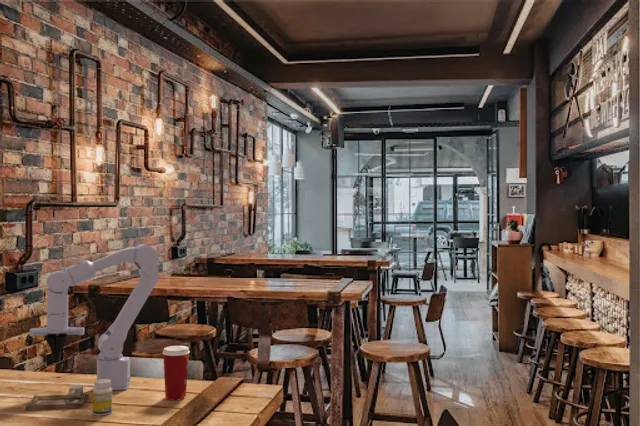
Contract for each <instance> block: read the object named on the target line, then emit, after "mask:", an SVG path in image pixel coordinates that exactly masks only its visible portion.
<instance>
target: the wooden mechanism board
mask: <svg viewBox="0 0 640 426" xmlns="http://www.w3.org/2000/svg"><path fill="white" fill-rule="evenodd" d="M89 398H90V397H89V393H86V392H83V393H81V398H69V392H63V393H39V394H38V393H37V394H36V393H35V394H34V395H33V398H32V399H31V400H30V401H29V402H27V404H26V405H25V411H43V410H64V409H67V410H68V409H83V407H84V406H85V404H86V403H87V401H88V399H89Z"/></svg>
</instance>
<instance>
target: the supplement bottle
mask: <svg viewBox="0 0 640 426" xmlns="http://www.w3.org/2000/svg"><path fill="white" fill-rule="evenodd" d="M110 386H111V380H109V379H99V380H97V379H96V380H95V381H94V387H95V389H94V388H93V389H94V390H93V389H92V392H93V393H92V414H93V415H94V416H100V417H101V416H102V417H103V416H108V415H110V414H112V412H113V390H112V388H111V387H110Z"/></svg>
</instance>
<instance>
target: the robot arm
mask: <svg viewBox="0 0 640 426" xmlns="http://www.w3.org/2000/svg"><path fill="white" fill-rule="evenodd" d="M159 257H160V256H159V255H158V254H157V251H156V249H155V248H154V247H153V246H151V245H147V244H144V243H139V244H135V246H129V247H125V248H122V249H120V250H117V251H115V252H113V253H110V254H108V255H106V256H103V257H101V258H99V259H96V260H94V261H90V260H88V259H86V260H85V259H84V260H82V259H80V260H77V261H76V262H77V263H75V264H72V265H70V266H67V267H65V266H63V267H61V268H60V269H61V271H59V270H57V271H56V270H55V271H53V272H50V273H49V275H47V279H46V286H47V287H48V289H47V292H46V293H47V297H46V327H34V328H33V327H32V328H30V329H29V337H35V336H41V337H42V336H46V338H45V340H46V342H47V344H48V346H49V348H50V351H51V354H52V358H53V359H52V360H53V362H59V361H61V356H62V353H63V349H64V347H65V345H66V342H67V340H68V338H69V336H76V335H79V336H83V335H85V327H84V326H83V327H81V326H80V327H79V326H69V296H68V292H69V291H68V289H69V287H75V286H77V285H80V284H81V283H84V282H86V281H89V280H91V279H94V278H95V276H96V274H97V273H98V272H101V271H103V270H105V269H109V268H111V267H113V266H117V265H119V264H122V263H127V264H135V266H136V267H137V269H138V273H139V276H140V278H139V280H138V281H137V283H136V285H135V286H134V288H133V290H132V291H131V293H130V294H129V297H128V298H127V300H126V301H125V303H124V305H123V306H122V308H121V310H120V311H119V313H118V315H117V317H116V318H115V320H114V322H113V323H112V324H111V325H110V326H109V327H108V328H107V330H106V331H105V332H104V333H102V334H101V335H100V336H99V337H98V339H97V342H96V344H97V348H98V349H99V351H100V352H99V354H98V355H97V356H96V380H99V379H109V380H111V386H110V387H111V388H112V391H116V390H117V391H124V390H128V388H129V386H130V384H131V359H130V357H129V356H123V353H122V352H123V351H124V343H125V341H126V339H127V336H128V334H129V333H128V332H129V331H130V329H131V327H132V325H133V323H134V322H135V320H136V318H137V317H138V315H139V313H140V311H141V310H142V308H143V307H144V305H145V303H146V301H147V300H148V298H149V296H150V295H151V294H152V291H153V289H154V288H155V286H156V285H157V283H158V281H159V279H160V277H159V264H160V263H159V262H160V258H159ZM94 389H95V386H94V388H93V389H92V391H93V390H94Z"/></svg>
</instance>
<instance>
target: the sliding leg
mask: <svg viewBox="0 0 640 426" xmlns="http://www.w3.org/2000/svg"><path fill="white" fill-rule="evenodd" d="M68 393H69V398H81V393H84V385H83V384H76V385H74V384H73V385H70V387H69V388H68Z"/></svg>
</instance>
